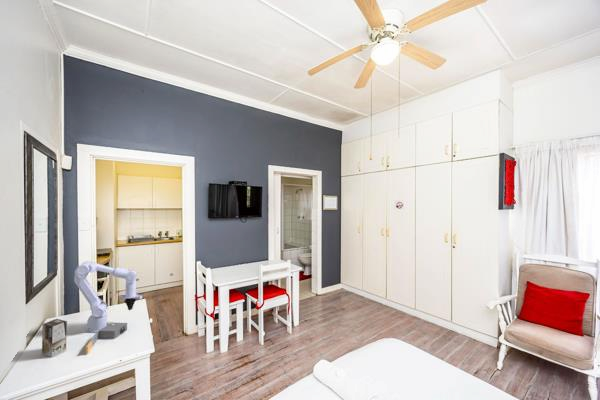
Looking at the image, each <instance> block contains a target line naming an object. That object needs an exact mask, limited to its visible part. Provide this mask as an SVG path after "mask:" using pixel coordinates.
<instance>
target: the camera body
mask: <svg viewBox="0 0 600 400" xmlns="http://www.w3.org/2000/svg"><path fill="white" fill-rule="evenodd" d="M127 330H128V323H127V322H111V323H109V324H107V326H105V327H104V328H102V329H100V330H99V331H98V339H105V340H109V339H110V340H111V339H112V340H115V339H117V338H118V337H120V336H121V335H122V334H123V333H125V332H126V331H127Z"/></svg>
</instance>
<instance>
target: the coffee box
mask: <svg viewBox="0 0 600 400" xmlns="http://www.w3.org/2000/svg"><path fill="white" fill-rule="evenodd" d="M67 327H68V321H67V320H64V319H59V318H56V319H52V320H49V321H47V322H44V323H42V327H41V328H42V331H41V332H42V333H41V338H42V339H41V343H42V344H41V354H42V355H44V356H47V357H51V358H54V357H55V356H58V355H61V354H62V353H65V352H66V351H67V329H68V328H67Z"/></svg>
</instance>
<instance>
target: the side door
mask: <svg viewBox="0 0 600 400" xmlns="http://www.w3.org/2000/svg"><path fill="white" fill-rule="evenodd" d="M94 333H95V334H94V335H93V337H91V339H90V340H89V342H88V344H87V345H86V346H85V354H86V355H88V354H89V353H90V351H91V349H92V348H93V347H94V345H95V344H96V342H97V340H98V339H99V338H98V332H94Z"/></svg>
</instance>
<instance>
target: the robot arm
mask: <svg viewBox="0 0 600 400" xmlns="http://www.w3.org/2000/svg"><path fill="white" fill-rule="evenodd" d="M94 272H103V273H106V274H111V275H112V277H116V278H118V279H119V278H121V279H124V280H125V294H121V295H118V300H121V299H124V301H123V302H124V303H125V305H126V306H127V309H128V311H131V310H133V308H134V304H135V302H136V301H137V300H142V299H143V295H140V294H137V271H135V270H134V269H129V268H128V269H126V268H123V267H122V266H119V267H115V268H113V267H110V266H107V265H103V264H101V263H97V262H94V261H93V262H91V261H84V262H83V263H81V264H80V265H78V266H77V267H76V268H75V270H74V278H73V281H74V284H75V285H76V286H77V288H78V290H79V291H80V292H81V294H82V295H83V297H84V298H85V300H86V301H87V302H88V304H89V307H90V309H89V310H90V311H91V315H90V316H89V317H88V318H87V321H86V330H85V332H86V333H96V332H98V331H99V330H100V329H102V328H104V327H105V326H107V325H108V324H107V323H108V312H107V309H108V307H109V306H108V305H109V304H108V303H107V302H105V301H103V299H101V298H100V297H99V296H98V294H97V293H96V292H95V289H93V287H92V286H91V284H90V283H89V281H88V279H87V277H88V274H89V273H94Z"/></svg>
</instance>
